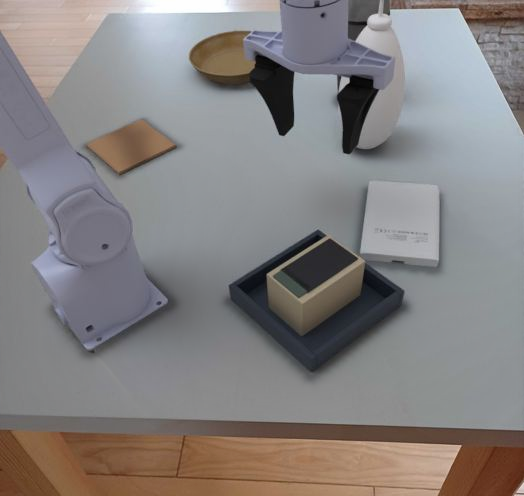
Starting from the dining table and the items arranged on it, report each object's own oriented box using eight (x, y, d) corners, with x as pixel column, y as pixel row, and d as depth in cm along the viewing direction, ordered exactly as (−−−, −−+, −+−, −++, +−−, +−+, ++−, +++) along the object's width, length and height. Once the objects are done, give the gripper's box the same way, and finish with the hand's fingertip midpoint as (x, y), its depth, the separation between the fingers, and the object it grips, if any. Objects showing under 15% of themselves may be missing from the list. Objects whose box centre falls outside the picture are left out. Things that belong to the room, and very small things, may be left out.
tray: (311, 375, 48) (311, 359, 46) (230, 301, 54) (228, 285, 52) (401, 307, 52) (405, 290, 50) (317, 246, 58) (318, 229, 56)
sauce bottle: (327, 135, 71) (335, -19, 56) (381, 124, 72) (403, -30, 57) (347, 167, 66) (361, 10, 52) (404, 156, 67) (434, -3, 53)
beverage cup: (388, 106, 74) (413, -67, 58) (342, 118, 73) (355, -55, 57) (364, 83, 78) (381, -85, 62) (320, 95, 77) (325, -73, 61)
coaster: (119, 175, 68) (118, 172, 68) (86, 146, 72) (85, 144, 72) (176, 147, 71) (175, 144, 71) (141, 121, 75) (141, 119, 75)
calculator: (301, 336, 50) (302, 302, 46) (268, 307, 52) (266, 272, 48) (360, 295, 53) (365, 259, 49) (326, 269, 55) (328, 232, 51)
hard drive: (437, 196, 62) (436, 270, 55) (367, 191, 63) (358, 262, 56) (440, 185, 61) (440, 259, 54) (369, 179, 62) (359, 251, 55)
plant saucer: (227, 102, 77) (226, 85, 75) (173, 68, 84) (170, 51, 82) (302, 68, 82) (302, 50, 80) (245, 38, 89) (243, 22, 87)
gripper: (417, -18, 42) (399, 134, 53) (265, -38, 47) (278, 103, 59) (378, 22, 39) (368, 175, 50) (221, -4, 44) (243, 138, 56)
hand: (317, 139), depth 54 cm, fingers open, 7 cm apart
